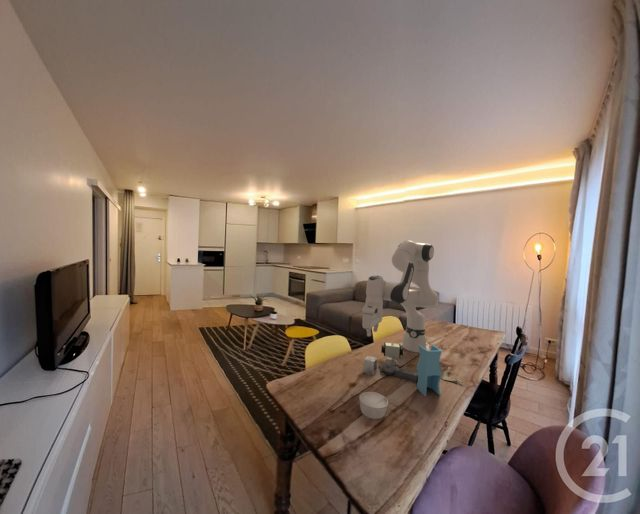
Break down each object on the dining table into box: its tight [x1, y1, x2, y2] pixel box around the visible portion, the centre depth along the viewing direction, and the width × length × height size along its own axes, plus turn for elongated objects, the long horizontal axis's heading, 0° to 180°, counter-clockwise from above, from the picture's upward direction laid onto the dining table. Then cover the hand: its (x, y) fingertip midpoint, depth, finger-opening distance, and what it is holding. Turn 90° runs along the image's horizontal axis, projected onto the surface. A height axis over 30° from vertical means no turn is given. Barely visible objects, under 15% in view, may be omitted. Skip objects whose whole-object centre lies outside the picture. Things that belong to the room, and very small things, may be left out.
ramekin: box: [358, 391, 389, 420], centre depth 105 cm, size 11×11×5 cm
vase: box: [416, 344, 443, 397], centre depth 123 cm, size 8×8×20 cm
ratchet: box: [380, 356, 418, 383], centre depth 136 cm, size 8×24×8 cm, turn 59°
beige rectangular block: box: [362, 355, 378, 376], centre depth 139 cm, size 5×5×7 cm
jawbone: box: [440, 366, 464, 384], centre depth 141 cm, size 9×20×2 cm, turn 171°
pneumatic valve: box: [380, 342, 404, 365], centre depth 151 cm, size 6×12×12 cm, turn 78°
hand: (372, 333), depth 139 cm, fingers open, 8 cm apart
